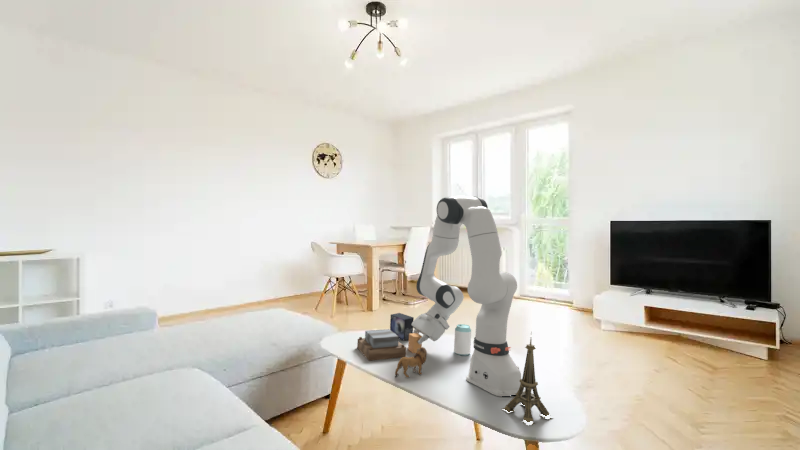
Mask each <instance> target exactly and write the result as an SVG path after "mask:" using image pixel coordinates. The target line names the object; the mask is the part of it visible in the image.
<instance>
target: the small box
mask: <svg viewBox="0 0 800 450" xmlns="http://www.w3.org/2000/svg"><path fill="white" fill-rule="evenodd" d="M414 320H415V319H414V317H413V316H412V315H411V316H410V315H407V314H404V313H400V312H397V313H392V314H390V322H389V324H390V325H389V330H391V331H392V332H393V333H395V334H396V335H397V336H399V340H401V341H404V342H405V341H409V334H410V333H413V331H414V328H413V326H412V325H411V324H412V322H413V321H414Z"/></svg>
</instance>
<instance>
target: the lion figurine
mask: <svg viewBox="0 0 800 450" xmlns="http://www.w3.org/2000/svg"><path fill="white" fill-rule="evenodd" d="M427 355H428V351H427V350H426V348H425V347H423V346H422V347H420V348H418V349H417V352H416V353H414V355H413V356H410V357H409V356H406V357H402V358H399V361H398V363H397V366H396V368H395V376H394V378H397V377H398V376H399V375H400V374H399V371H400V369H403V375H404V377H405V378H410V376H409V374H407V372H408V368H413V370H412V372H414V373H417V372H418V375H422V374H423V373H422V372H421V371H422V368H423V367H422V366H423V365H424V364H425V362H426V360H427V357H428V356H427ZM417 369H418V370H417Z"/></svg>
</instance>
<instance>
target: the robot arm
mask: <svg viewBox="0 0 800 450" xmlns="http://www.w3.org/2000/svg"><path fill="white" fill-rule="evenodd" d="M462 225H464V226H465V228H466V234H467V240H468V244H469V251H470V255H471V275H470V279H469V282H468V284H467V295H468V296H469V298H470V299H471V301H473V302H474V303H476V304H480V305H481V307H480V309H479V312H478V313H477V315H476V319H475V334H474V335H475V337H474V338H473V349H474V350H473V353H472V355H471V356H470V363H469V370H468V375H467V376H466V377H465V379H466V381H467V382H469V383H470V384H472V385H475V386H476V387H478V388H480V389H481V390H484V391H485V392H488V393H490V394H492V395H493V396H496V397H502V396H510V395H515V393H517V392H518V390H519V387H520V384H521V382H519V381H520V379H522V373H521V372H522V371H521V370H520V367H519V366H518V365H517V364H516V363H515V361H514V360H513V358H512V357H511V355H510V349H511V348H512V347H511V346H509V345H508V341H507V334H508V333H507V331H508V330H507V329H508V320H509V314H510V310H511V306H512V303H513V300H514V299H513V298H514V296H515V293H516V291H517V290H518V289H517V288H518V282H517V279H516V278H515V277H514V276H513V275H512V274H511V273H509V272H506V271H503V270H500V264H501V257H502V255H503V253H502V248H501V243H500V237H499V233H498V229H497V224H496V222H495V219H494V217H493V214H492V212H491V210H490V209H489V208H488V204H487V202H486V201H485V199H484V198H482V197H478V196H465V195H455V196H454V195H453V196H445V197H442V198H441V199H440V200H439V201H438V203H437V205H436V216H435V221H434V226H433V232H432V239H431V241H430V243H428V244H427V247H426V249H425V253H424V258H423V262H422V266H421V270H420V274H419V277H418V278H417V281H416V286H415V287H416V290H417V291H416V292H417V293H418V294H419V295H421V296H423V297H426V298H427V299H429V300H430V301H432V302H434V304H433V305H432V306H431V307H430V308H429V309H428V311H426V312H425V313H421V314H420V315H418V316H417V317H416V318H415V319H414V320H413V322H412V324H411V325H412V326H413V333H418V334H419V335H420V333H421V334H422V337H421V338H420V339H418V340H417V343H418V344H421V343H422V344H423V343H424V342H426V341H428V339H429V340H431V341H433V342H437V341H438V340H439V339H440V338H441V337H442V336H443V334H445V333H446V331H447V330H449V328H450V324H449V323H448V320H449V318H450V317H451V315H452V314H454V313H455V312H456V310H457V309H458V308H460V305H462V303H463V301H464V299H465V297H464V296H465V295H464V293H463V291H462V290H461V289H460V288H459V287H458V286H455V285H450V284H448V283H446V282H445V281H443V280H441V279H438V278H437V277H436V276H435V270H436V267H437V262H438V259H439V258H440V257H442V256H443V257H444V256H447V255H451V254H453V253H454V252H456V250H457V248H458V245H459V241H460V240H459V239H460V233H461V232H460V228H461V227H462ZM523 392H525V387H524V389H523ZM510 397H511V396H510Z"/></svg>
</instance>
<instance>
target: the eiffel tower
mask: <svg viewBox="0 0 800 450" xmlns="http://www.w3.org/2000/svg"><path fill="white" fill-rule="evenodd" d="M530 334H532V331H531V333H530ZM524 348H525V349H526V357H525V364H524V368H523V373H522V376H521V379H520V381H519V382H521V384H520V387H519V390H518V392H517V393H515V395H516V396H513V398H512V399H511V400H510V401H509V402H508V403H507V404H506V405H505V407H503V408H502V409H505V410H507V411H508V412H510V411H514V410H515V408H516V407H517V406H518V405H519V404H521V403H522V404H523V405H525V407H526V408H525V409H524V410H525V411H524V415H523V419H524V420H526V421H527V422H530V421H534V418H533V414H532V413H533V412H532V408H533V406H535V407H536V408H537V410H538V411H539V413H540V414H543V415H545V416H547V415H549V414H550V412H549V411H548V408H546V407H545V405H544V403H543V402H542V400H541V396H540V395H539V393H538V388H537V387H538V385H539V383H538V381H536V371H535V370H536V369H535V360H534V359H535V358H534V350H536V347H535V345H534V344H532V338H530V339H529V344H526V346H525V347H524ZM524 387H525V392H523V389H524Z"/></svg>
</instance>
